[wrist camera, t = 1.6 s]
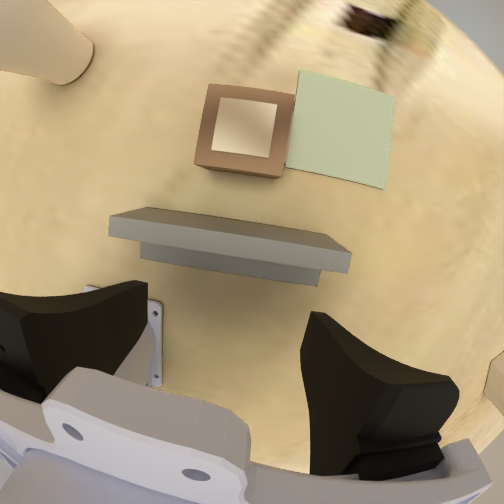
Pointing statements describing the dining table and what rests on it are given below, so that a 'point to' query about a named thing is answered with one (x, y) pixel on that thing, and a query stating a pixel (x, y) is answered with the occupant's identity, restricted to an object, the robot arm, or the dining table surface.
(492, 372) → the medicine bottle
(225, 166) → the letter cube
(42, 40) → the beige paper cup
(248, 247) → the grey block
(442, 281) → the dining table surface
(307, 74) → the pad
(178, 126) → the dining table surface
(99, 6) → the dining table surface
